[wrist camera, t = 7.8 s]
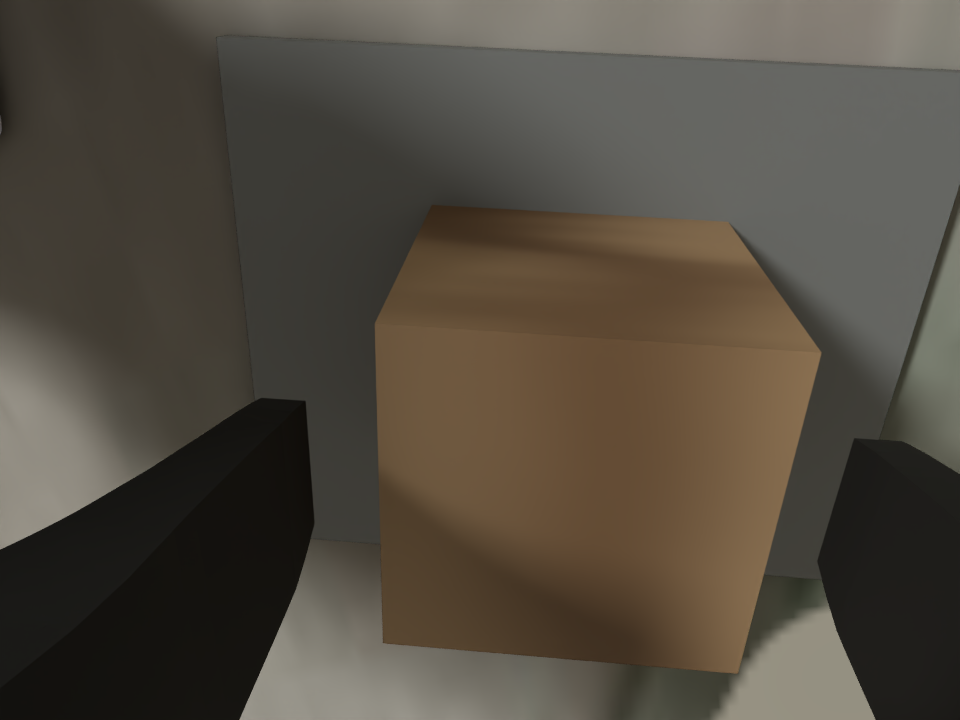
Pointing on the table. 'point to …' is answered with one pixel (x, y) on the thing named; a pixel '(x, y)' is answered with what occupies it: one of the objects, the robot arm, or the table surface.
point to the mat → (580, 189)
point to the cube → (583, 436)
